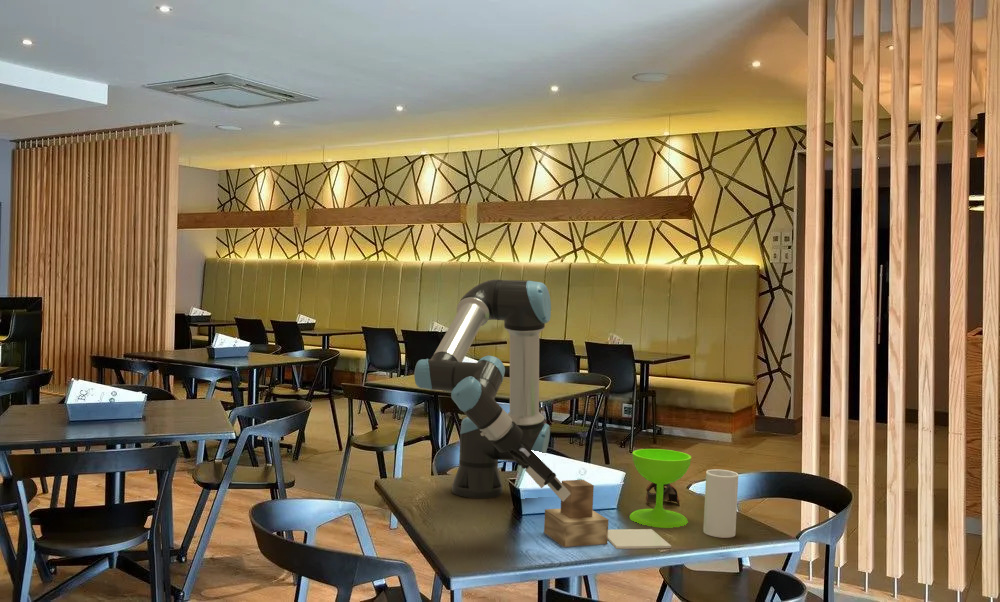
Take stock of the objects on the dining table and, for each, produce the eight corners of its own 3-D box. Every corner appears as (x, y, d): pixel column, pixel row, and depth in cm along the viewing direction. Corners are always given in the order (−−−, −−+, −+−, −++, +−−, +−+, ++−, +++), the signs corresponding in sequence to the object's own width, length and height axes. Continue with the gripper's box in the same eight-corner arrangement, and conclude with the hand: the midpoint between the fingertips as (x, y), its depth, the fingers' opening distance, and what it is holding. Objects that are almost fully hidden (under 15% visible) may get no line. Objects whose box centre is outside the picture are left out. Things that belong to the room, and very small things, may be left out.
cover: (563, 546, 215) (565, 489, 214) (543, 532, 226) (546, 478, 225) (607, 543, 219) (609, 487, 218) (586, 529, 230) (588, 476, 230)
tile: (616, 548, 215) (616, 546, 215) (600, 531, 229) (600, 529, 229) (671, 548, 217) (671, 545, 217) (651, 531, 231) (651, 529, 231)
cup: (737, 531, 235) (740, 471, 234) (733, 539, 227) (736, 477, 226) (705, 526, 238) (708, 468, 237) (700, 534, 230) (703, 473, 230)
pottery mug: (686, 510, 256) (677, 487, 253) (656, 523, 256) (646, 500, 254) (673, 490, 267) (664, 468, 265) (645, 502, 268) (636, 480, 265)
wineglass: (617, 514, 246) (620, 450, 246) (663, 509, 254) (666, 447, 253) (653, 530, 232) (656, 462, 232) (700, 524, 240) (703, 458, 239)
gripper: (474, 432, 224) (526, 489, 230) (508, 452, 201) (565, 514, 206) (495, 411, 226) (546, 468, 231) (531, 428, 202) (587, 491, 208)
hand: (555, 490), depth 219 cm, fingers open, 13 cm apart
